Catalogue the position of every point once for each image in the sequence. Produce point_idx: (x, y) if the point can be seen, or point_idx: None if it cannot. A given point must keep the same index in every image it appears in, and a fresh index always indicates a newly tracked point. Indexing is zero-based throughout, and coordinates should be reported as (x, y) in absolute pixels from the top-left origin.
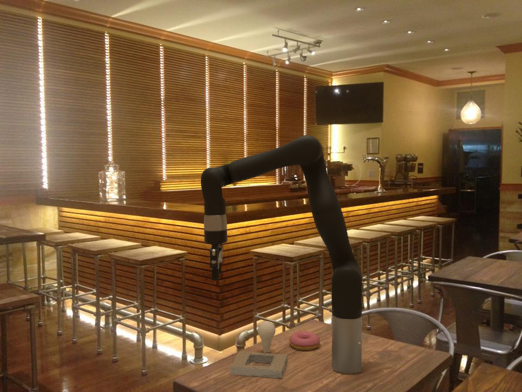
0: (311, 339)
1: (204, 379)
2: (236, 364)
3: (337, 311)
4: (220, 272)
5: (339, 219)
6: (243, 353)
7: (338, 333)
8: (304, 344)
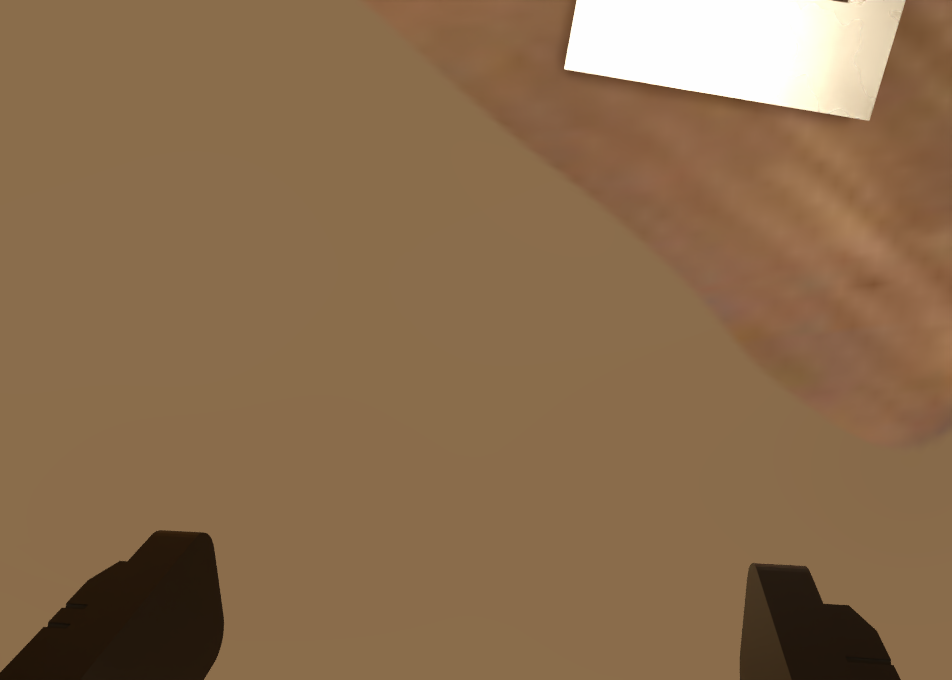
0: None
1: (911, 294)
2: (835, 73)
3: None
4: (193, 557)
5: None
6: (616, 31)
7: None
8: None
